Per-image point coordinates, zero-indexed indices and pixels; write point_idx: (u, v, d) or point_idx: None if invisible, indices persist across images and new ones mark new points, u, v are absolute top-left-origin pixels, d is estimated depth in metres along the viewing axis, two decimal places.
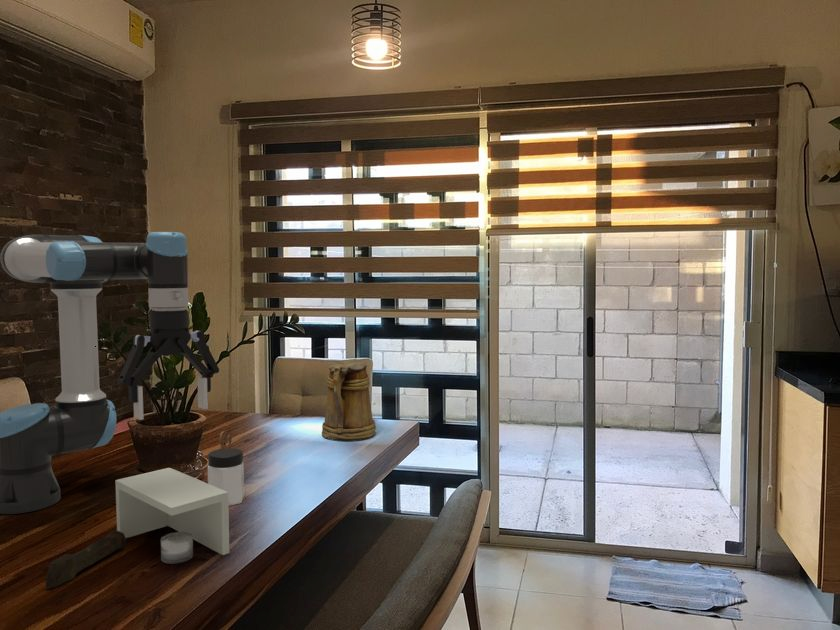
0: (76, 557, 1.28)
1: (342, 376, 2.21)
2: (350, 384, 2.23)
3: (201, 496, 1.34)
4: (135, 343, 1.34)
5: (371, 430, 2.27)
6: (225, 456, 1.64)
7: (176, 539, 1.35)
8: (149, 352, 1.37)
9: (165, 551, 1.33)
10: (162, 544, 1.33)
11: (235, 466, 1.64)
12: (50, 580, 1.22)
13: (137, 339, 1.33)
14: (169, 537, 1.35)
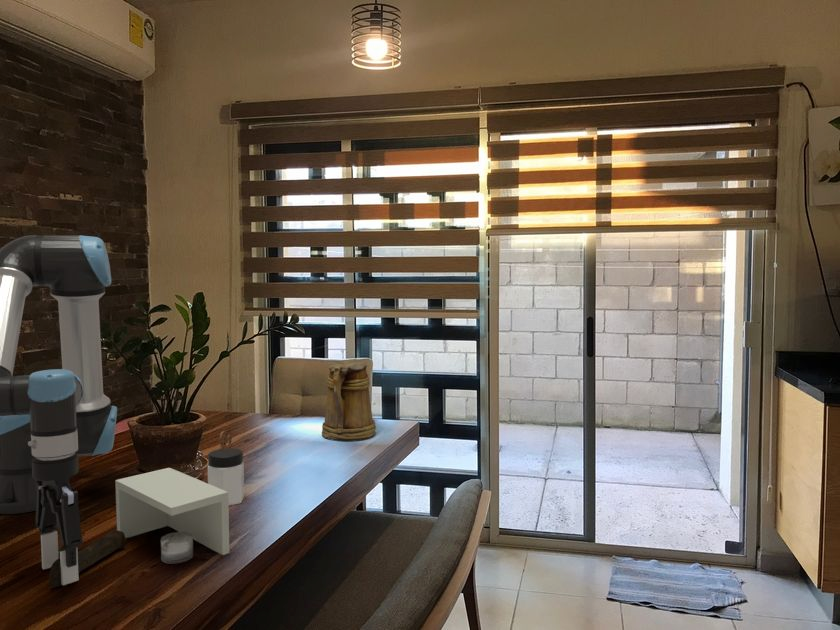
0: (78, 556, 1.28)
1: (342, 376, 2.21)
2: (350, 384, 2.23)
3: (201, 496, 1.34)
4: None
5: (371, 430, 2.27)
6: (225, 456, 1.64)
7: (176, 539, 1.35)
8: None
9: (164, 551, 1.33)
10: (162, 544, 1.33)
11: (235, 466, 1.64)
12: (53, 580, 1.22)
13: None
14: (169, 537, 1.35)
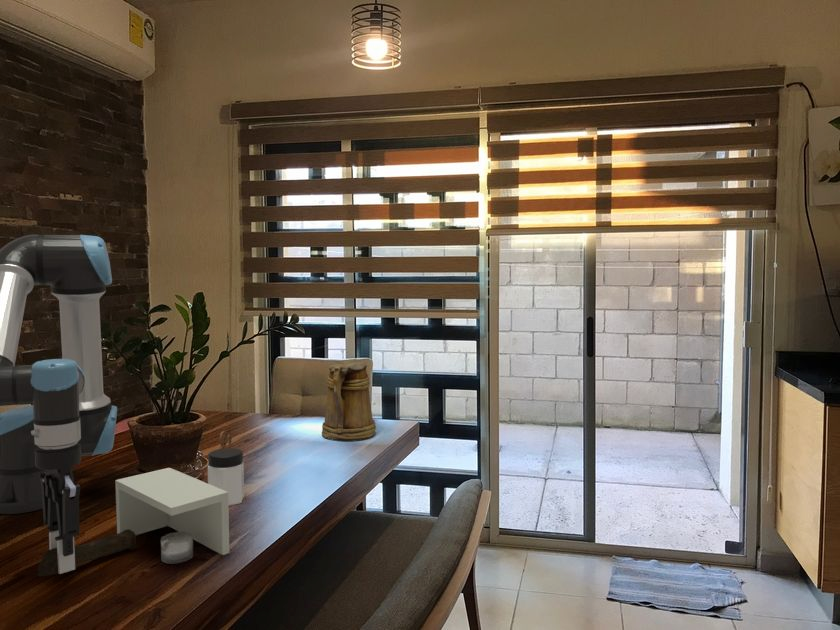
0: (75, 549, 1.29)
1: (342, 376, 2.21)
2: (350, 384, 2.23)
3: (201, 496, 1.34)
4: None
5: (371, 430, 2.27)
6: (225, 456, 1.64)
7: (176, 539, 1.35)
8: None
9: (164, 551, 1.33)
10: (162, 544, 1.33)
11: (235, 466, 1.64)
12: (42, 568, 1.24)
13: None
14: (169, 537, 1.35)
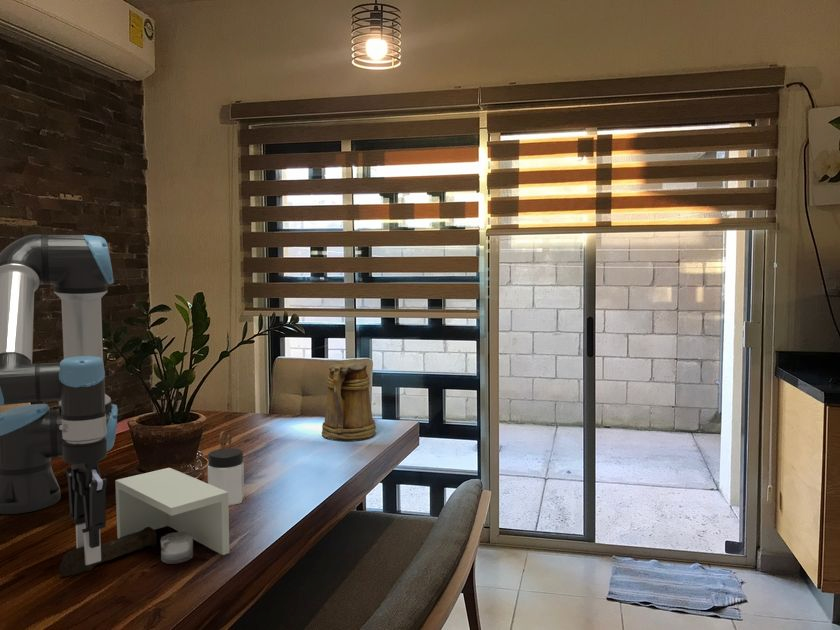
0: None
1: (342, 376, 2.21)
2: (350, 384, 2.23)
3: (201, 496, 1.34)
4: None
5: (371, 430, 2.27)
6: (225, 456, 1.64)
7: (176, 539, 1.35)
8: None
9: (164, 551, 1.33)
10: (162, 544, 1.33)
11: (235, 466, 1.64)
12: (63, 569, 1.27)
13: None
14: (169, 537, 1.35)
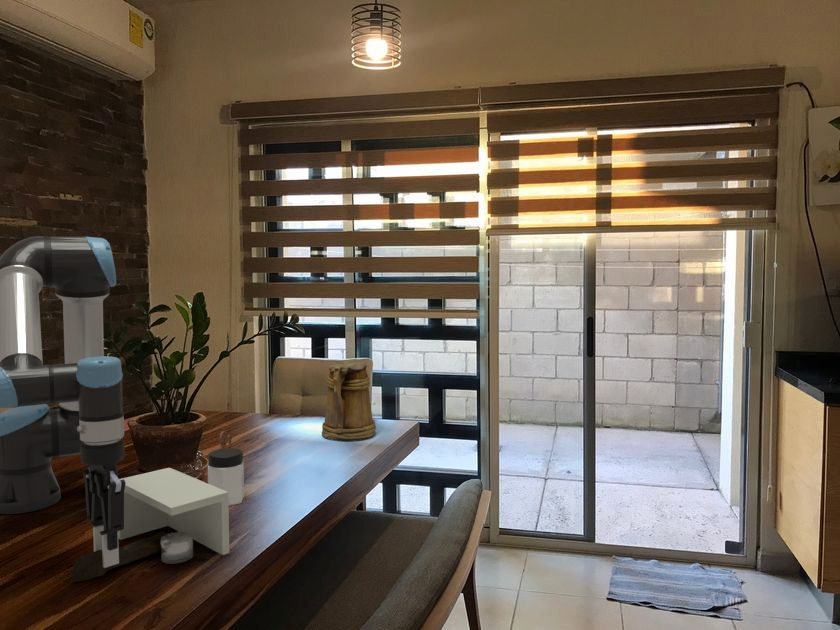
0: None
1: (342, 376, 2.21)
2: (350, 384, 2.23)
3: (201, 496, 1.34)
4: None
5: (371, 430, 2.27)
6: (225, 456, 1.64)
7: (176, 539, 1.35)
8: None
9: (164, 551, 1.33)
10: (162, 544, 1.33)
11: (235, 466, 1.64)
12: (75, 574, 1.25)
13: None
14: (169, 538, 1.35)
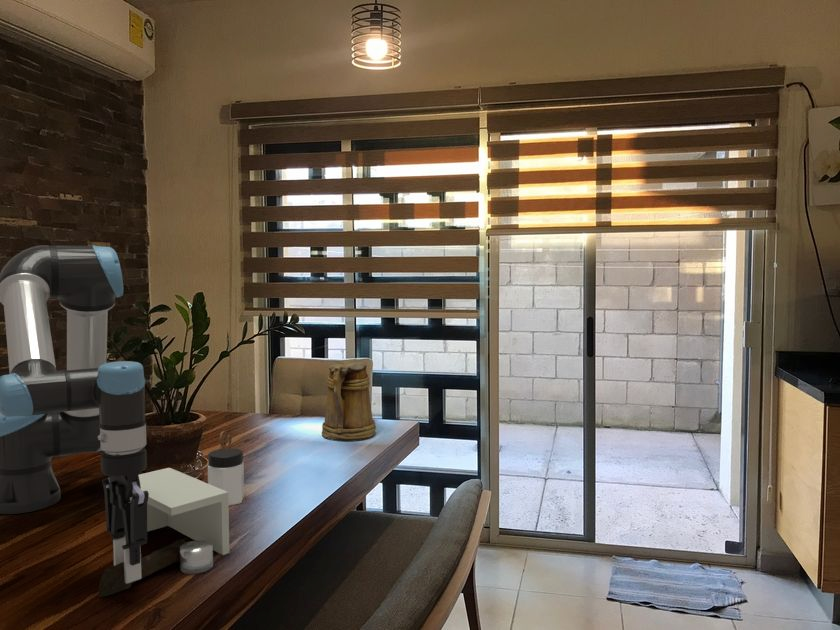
0: None
1: (342, 376, 2.21)
2: (350, 384, 2.23)
3: (201, 496, 1.34)
4: None
5: (371, 430, 2.27)
6: (225, 456, 1.64)
7: (195, 548, 1.30)
8: None
9: (183, 560, 1.29)
10: (181, 553, 1.29)
11: (235, 466, 1.64)
12: (103, 588, 1.19)
13: None
14: (188, 546, 1.31)
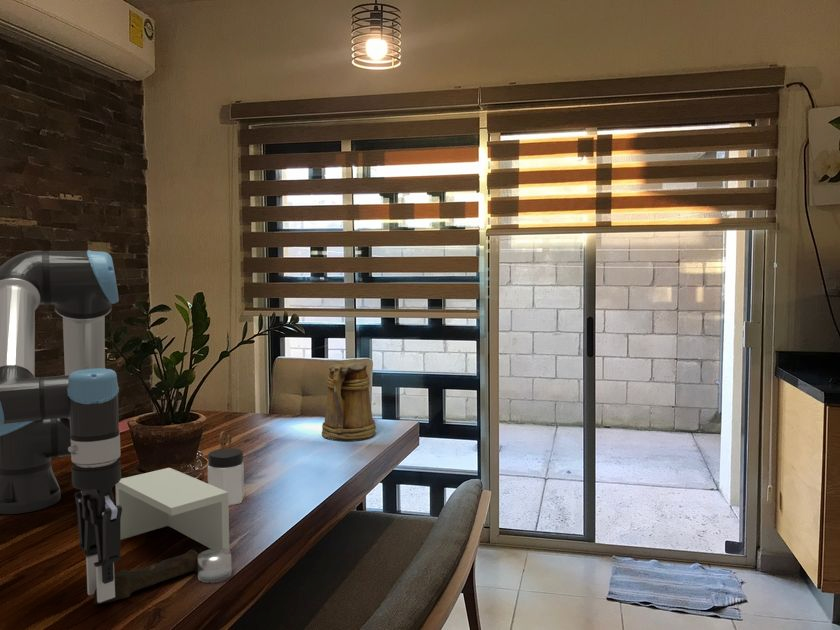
0: (133, 575, 1.20)
1: (342, 376, 2.21)
2: (350, 384, 2.23)
3: (201, 496, 1.34)
4: None
5: (371, 430, 2.27)
6: (225, 456, 1.64)
7: (214, 557, 1.27)
8: None
9: (203, 570, 1.25)
10: (200, 562, 1.25)
11: (235, 466, 1.64)
12: None
13: None
14: (206, 555, 1.27)
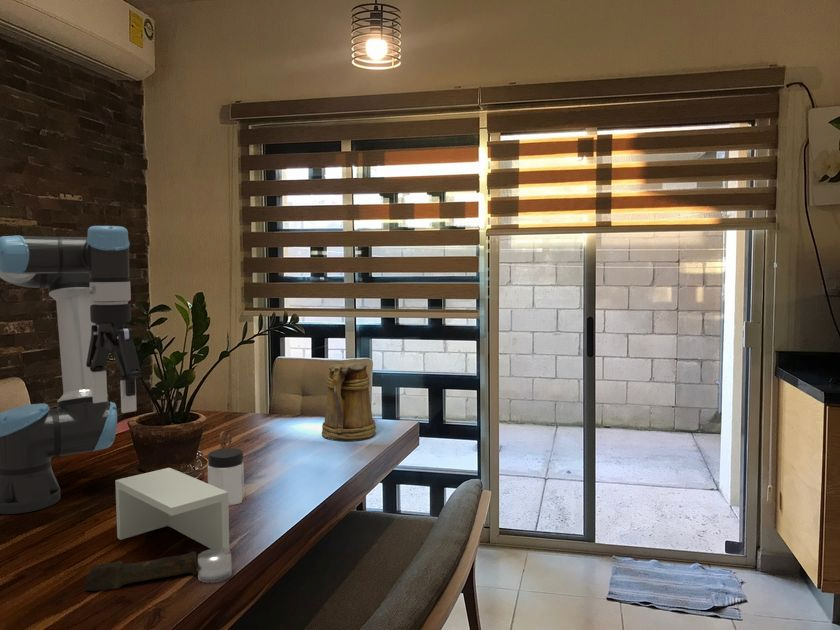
0: (124, 568, 1.23)
1: (342, 376, 2.21)
2: (350, 384, 2.23)
3: (201, 496, 1.34)
4: None
5: (371, 430, 2.27)
6: (225, 456, 1.64)
7: (214, 557, 1.27)
8: None
9: (203, 570, 1.25)
10: (200, 562, 1.25)
11: (235, 466, 1.64)
12: (88, 583, 1.21)
13: None
14: (206, 555, 1.27)
